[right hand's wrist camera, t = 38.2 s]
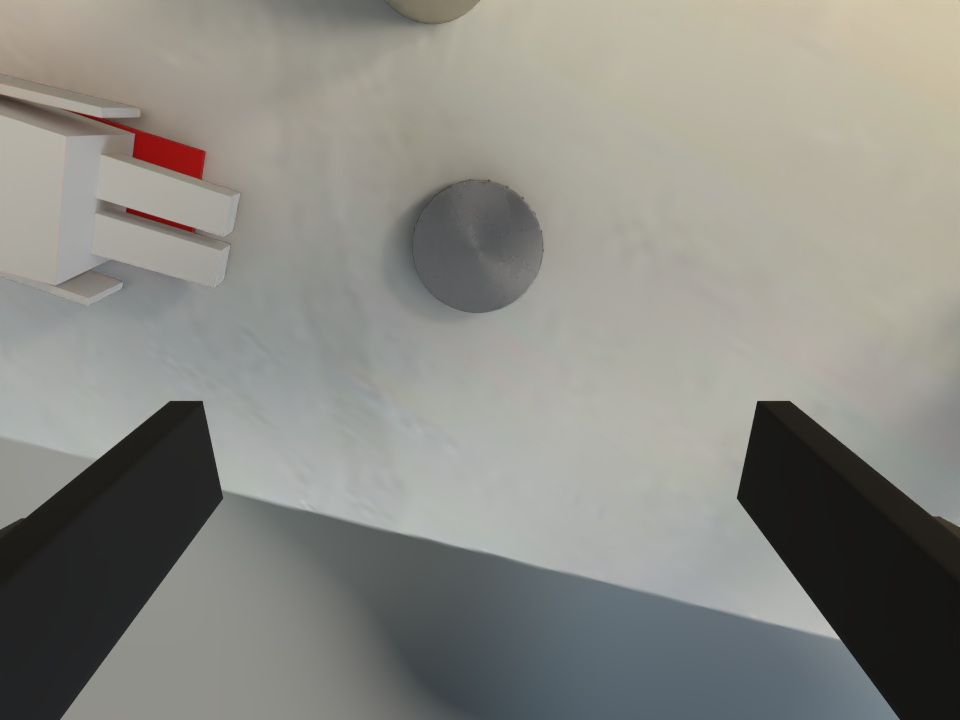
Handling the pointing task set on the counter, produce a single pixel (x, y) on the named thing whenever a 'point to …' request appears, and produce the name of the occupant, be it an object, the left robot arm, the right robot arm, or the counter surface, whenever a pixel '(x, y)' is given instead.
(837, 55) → the counter surface
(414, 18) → the jar
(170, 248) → the toy
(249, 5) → the counter surface
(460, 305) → the lid
